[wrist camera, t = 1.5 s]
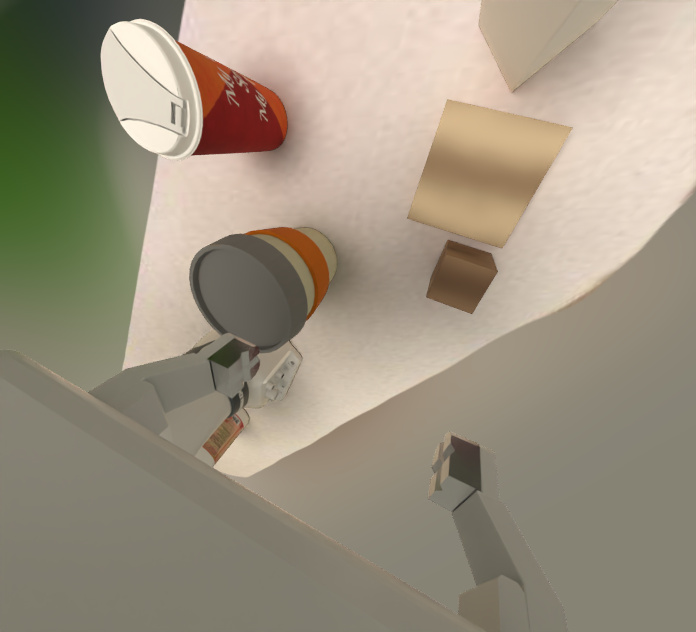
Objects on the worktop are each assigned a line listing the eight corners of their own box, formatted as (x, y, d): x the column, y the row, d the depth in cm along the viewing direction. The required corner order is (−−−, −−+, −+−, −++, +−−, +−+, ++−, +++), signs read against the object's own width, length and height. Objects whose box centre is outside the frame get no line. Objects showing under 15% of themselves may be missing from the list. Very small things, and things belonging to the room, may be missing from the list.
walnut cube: (470, 291, 32) (472, 314, 27) (430, 277, 33) (426, 297, 28) (491, 253, 29) (497, 271, 24) (447, 239, 30) (445, 254, 25)
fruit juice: (252, 428, 69) (152, 556, 47) (223, 416, 72) (115, 532, 49) (247, 405, 64) (133, 536, 42) (217, 393, 67) (93, 511, 44)
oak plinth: (498, 241, 28) (502, 248, 26) (411, 213, 30) (407, 218, 28) (560, 131, 23) (572, 127, 20) (448, 105, 24) (447, 99, 22)
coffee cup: (305, 96, 28) (189, 46, 16) (285, 173, 33) (185, 180, 21) (241, 59, 28) (81, -18, 16) (231, 141, 33) (101, 129, 21)
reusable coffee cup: (365, 248, 34) (314, 296, 22) (326, 312, 41) (271, 374, 29) (288, 194, 34) (194, 211, 22) (262, 267, 42) (182, 310, 29)
